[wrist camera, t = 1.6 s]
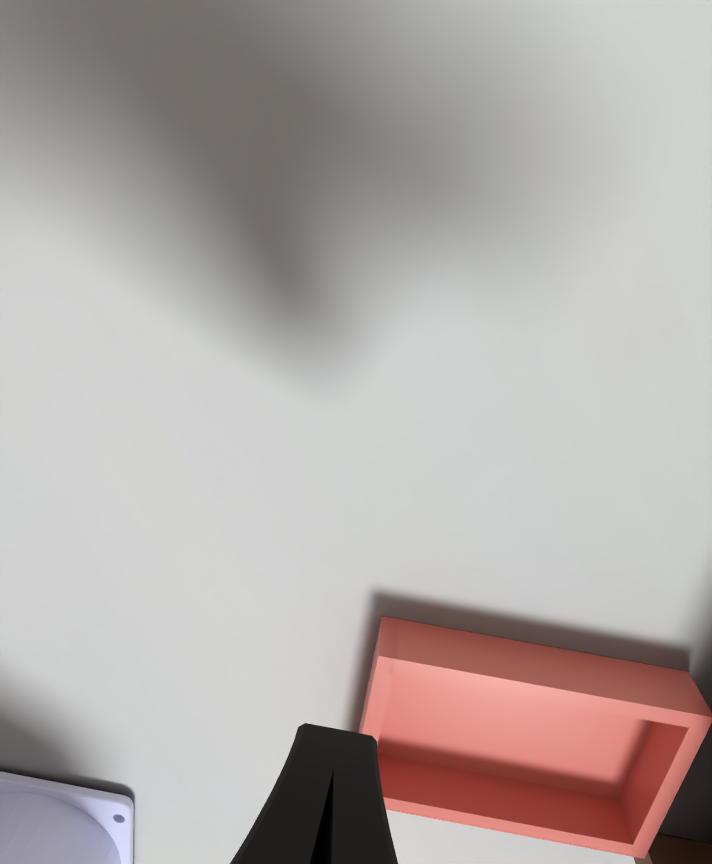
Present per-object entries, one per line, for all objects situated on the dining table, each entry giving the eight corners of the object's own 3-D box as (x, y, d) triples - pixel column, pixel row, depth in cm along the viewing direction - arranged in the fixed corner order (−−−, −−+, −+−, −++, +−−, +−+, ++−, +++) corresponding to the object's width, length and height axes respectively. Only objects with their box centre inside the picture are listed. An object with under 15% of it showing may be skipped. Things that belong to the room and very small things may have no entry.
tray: (623, 798, 25) (644, 858, 23) (354, 747, 25) (348, 802, 23) (684, 664, 22) (714, 717, 20) (382, 609, 22) (378, 655, 20)
